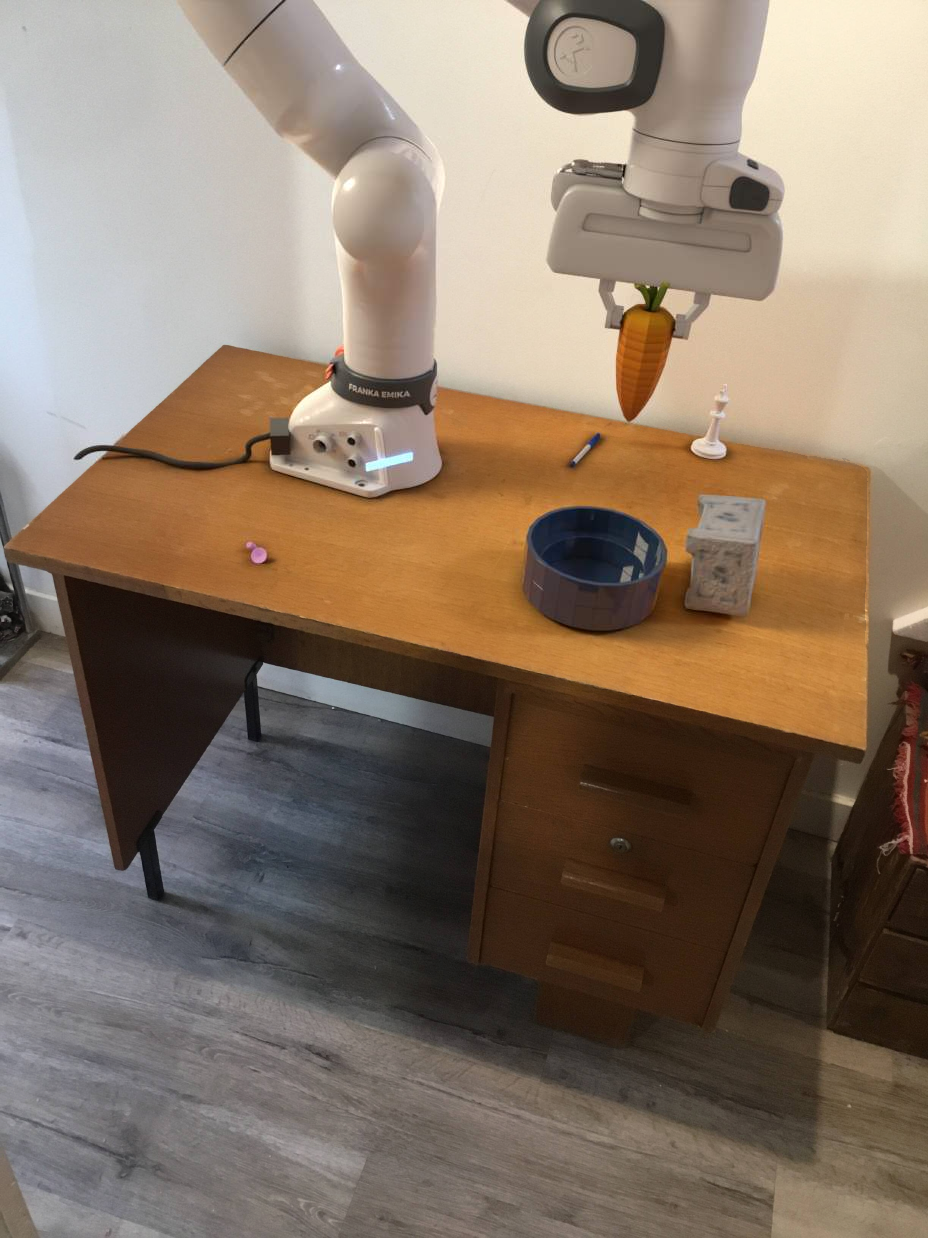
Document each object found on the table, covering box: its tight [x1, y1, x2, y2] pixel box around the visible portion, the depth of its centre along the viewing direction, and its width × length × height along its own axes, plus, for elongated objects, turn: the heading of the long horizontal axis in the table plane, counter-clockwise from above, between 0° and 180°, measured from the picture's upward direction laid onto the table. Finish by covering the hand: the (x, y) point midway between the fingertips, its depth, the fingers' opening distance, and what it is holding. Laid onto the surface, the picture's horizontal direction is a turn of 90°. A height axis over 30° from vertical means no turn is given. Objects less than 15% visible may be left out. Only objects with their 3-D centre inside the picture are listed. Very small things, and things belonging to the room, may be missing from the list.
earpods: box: [246, 541, 268, 564], centre depth 103 cm, size 3×2×2 cm
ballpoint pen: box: [569, 432, 601, 468], centre depth 126 cm, size 10×1×1 cm, turn 154°
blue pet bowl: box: [520, 505, 668, 632], centre depth 99 cm, size 15×15×6 cm
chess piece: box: [690, 383, 730, 460], centre depth 126 cm, size 5×5×10 cm
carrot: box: [615, 282, 675, 423], centre depth 86 cm, size 5×5×15 cm
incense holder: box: [684, 493, 767, 617], centre depth 99 cm, size 10×8×10 cm
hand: (646, 331), depth 85 cm, fingers closed on carrot, 5 cm apart
